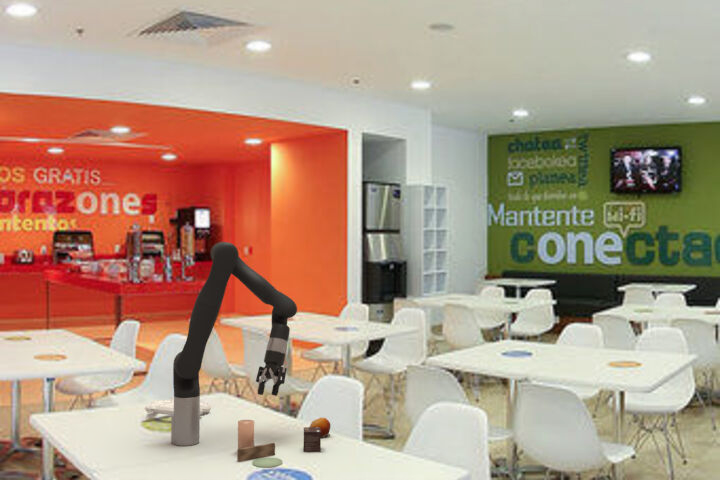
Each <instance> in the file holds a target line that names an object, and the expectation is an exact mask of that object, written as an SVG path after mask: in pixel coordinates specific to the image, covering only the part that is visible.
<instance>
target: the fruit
mask: <svg viewBox="0 0 720 480" xmlns="http://www.w3.org/2000/svg"><path fill="white" fill-rule="evenodd" d="M309 427H320V429H321V438H327V435H328V436H330V430H331V422H330V421H329V420H328V418H326V417H318V418H317V419H314V420H313V421H311V423H310V426H309Z"/></svg>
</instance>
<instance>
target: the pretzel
mask: <svg viewBox="0 0 720 480" xmlns="http://www.w3.org/2000/svg"><path fill="white" fill-rule="evenodd" d="M211 409H212V407H211V405H210V404H209V402H207V403H206V402H203V401H200V416H201V415H202V414H205V413H208V412H210V411H211ZM144 410H145V411H146V412H147V413H156V414H162V415H169V416H174V397H173V398H170V400H165V399H164V400H155V401H152V402H151V403H148V404H146V405H145V407H144Z"/></svg>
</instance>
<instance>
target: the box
mask: <svg viewBox="0 0 720 480" xmlns="http://www.w3.org/2000/svg"><path fill="white" fill-rule="evenodd" d="M321 439H322V437H321V429H320V427H310V426H309V427H308V426H307V427H306V426H304V427H303V452H304V453H320V452H321V443H322V442H321V441H322V440H321Z"/></svg>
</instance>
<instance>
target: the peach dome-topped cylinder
mask: <svg viewBox="0 0 720 480" xmlns="http://www.w3.org/2000/svg"><path fill="white" fill-rule="evenodd" d="M252 446H255V420H252V419H240V420H238V421H237V449H241V448H247V447H252Z"/></svg>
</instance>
